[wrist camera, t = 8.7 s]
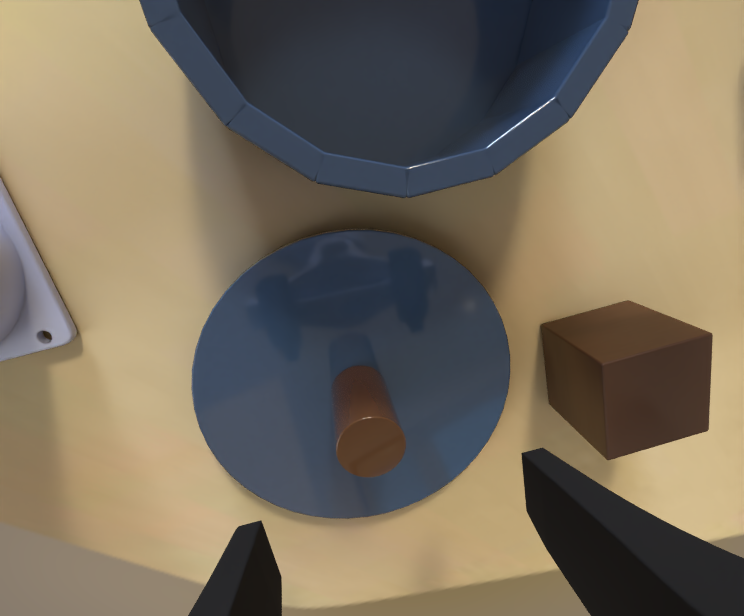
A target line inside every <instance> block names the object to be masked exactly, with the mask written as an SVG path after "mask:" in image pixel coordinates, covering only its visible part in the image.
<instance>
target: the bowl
mask: <svg viewBox="0 0 744 616" xmlns="http://www.w3.org/2000/svg"><path fill="white" fill-rule="evenodd" d="M139 1H140V4H141V7H142V10H143V12H144V15H145V18H146V21H147V24H148V26H149V28H150V30H151V32H152V33H153V34H154V36H155V37H156V38H157V39H158V41H159V42H160V43H161V45H162V46H163V47H164V48H165V50H166V51H167V52H168V54H169V55H170V56H171V57H172V59H173V60H174V61H175V63H176V64H177V65H178V67H179V68H180V69H181V70H182V72H183V73H184V74H185V76H186V77H187V78H188V79H189V81H190V82H191V83H192V85H193V86H194V87H195V88H196V90H197V91H198V92H199V94H200V95H201V96H202V97H203V99H204V100H205V101H206V103H207V104H208V105H209V107H210V108H211V109H212V110H213V112H214V113H215V114H216V116H217V117H218V118H219V119H220V121H221V122H222V123H223V125H225V126H226V127H228V128H229V130H231V131H233V132H234V133H236V134H237V135H239V136H241V137H242V138H244V139H245V140H247V141H249V142H250V143H252V144H253V145H255V146H257V147H258V148H260V149H261V150H263V151H265V152H266V153H268V154H269V155H271V156H273V157H274V158H276V159H277V160H279V161H281V162H282V163H284V164H285V165H287V166H289V167H290V168H292V169H293V170H295V171H296V172H298V173H300V174H301V175H303V176H304V177H306V178H308V179H309V180H311V181H314V182H315V181H316V183H318V184H324V185H330V186H335V187H341V188H347V189H353V190H359V191H365V192H371V193H377V194H383V195H389V196H395V197H401V198H406V197H408V198H411V197H415V196H419V195H423V194H427V193H431V192H435V191H439V190H443V189H447V188H451V187H455V186H459V185H463V184H467V183H471V182H474V181H478V180H482V179H486V178H490V177H493V176H494V175H497V174H498V173H499V172H501V171H502V170H504V169H505V168H506V167H508V166H509V165H510V164H512V163H513V162H514V161H516V160H517V159H518V158H520V157H521V156H522V155H524V154H525V153H527V152H528V151H529V150H531V149H532V148H533V147H535V146H536V145H537V144H539V143H540V142H541V141H543V140H544V139H545V138H547V137H548V136H550V135H551V134H552V133H554V132H555V131H556V130H558V129H559V128H560V127H562V126H563V125H564V124H566V123H567V122H568V121H569V119H570V118H572V117H573V115H574V114H575V112H576V111H577V109H578V108H579V106H580V105H581V103H582V102H583V100H584V99H585V97H586V96H587V94H588V93H589V91H590V90H591V88H592V87H593V85H594V84H595V82H596V81H597V79H598V78H599V76H600V75H601V73H602V72H603V70H604V69H605V67H606V66H607V64H608V63H609V61H610V60H611V58H612V57H613V55H614V54H615V52H616V51H617V49H618V48H619V46H620V45H621V43H622V42H623V40H624V39H625V37H626V36H627V34H628V31H629V29H630V28H631V25H632V21H633V18H634V14H635V11H636V8H637V4H638V1H639V0H139Z"/></svg>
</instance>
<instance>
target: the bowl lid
mask: <svg viewBox="0 0 744 616" xmlns="http://www.w3.org/2000/svg"><path fill="white" fill-rule="evenodd" d="M509 379H510V352H509V346H508V339H507V335H506V331H505V328H504V325H503V322H502V319H501V317H500V314H499V312H498V310H497V308H496V306H495V304H494V302H493V300H492V299H491V297H490V296H489V294H488V293H487V291H486V290H485V288H484V287H483V286H482V285H481V283H480V282H479V281H478V280H477V279H476V278H475V277H474V276H473V275H472V273H471V272H470V271H469V270H467V269H466V268H465V267H464V266H462V265H461V264H460V263H459V262H458V261H456V260H455V259H454V258H452V257H451V256H449V255H447V254H446V253H444V252H443V251H441V250H439V249H438V248H436V247H434V246H432V245H430V244H428V243H425V242H423V241H421V240H418V239H416V238H414V237H410V236H407V235H403V234H399V233H396V232H392V231H384V230H377V229H341V230H334V231H326V232H322V233H318V234H314V235H311V236H307V237H303V238H301V239H298V240H296V241H293V242H291V243H289V244H286V245H284V246H282V247H280V248H278V249H276V250H274V251H273V252H271V253H269V254H268V255H266V256H264V257H263V258H261V259H260V260H258V261H257V262H256V263H255V264H253V265H252V266H251V267H249V268H248V269H247V270H246V271H244V272H243V273H242V274H241V275H240V276H239V277H238V278H237V279H236V280H235V281H234V282H233V283H232V285H231V286H230V287H229V288H228V289H227V290H226V291H225V293H224V294H223V296H222V297H221V298H220V300H219V301H218V302H217V304H216V305H215V307H214V308H213V310H212V311H211V313H210V315H209V317H208V319H207V321H206V323H205V325H204V327H203V329H202V332H201V335H200V338H199V341H198V343H197V346H196V350H195V356H194V361H193V367H192V396H193V404H194V410H195V413H196V417H197V420H198V424H199V427H200V429H201V432H202V434H203V436H204V438H205V440H206V442H207V445H208V446H209V448H210V449H211V451H212V452H213V454H214V455H215V457H216V459H217V460H218V461H219V462H220V464H221V465H222V466H223V467H224V468H225V469H226V471H227V472H228V473H229V474H230V475H231V476H232V477H233V478H235V479H236V480H237V481H238V482H239V483H240V484H241V485H243V486H244V487H245V488H247V489H248V490H250V491H251V492H253V493H254V494H256V495H257V496H259V497H260V498H262V499H264V500H266V501H268V502H270V503H272V504H274V505H276V506H279V507H282V508H284V509H287V510H290V511H293V512H297V513H301V514H305V515H309V516H315V517H324V518H346V519H349V518H360V517H369V516H374V515H379V514H384V513H388V512H391V511H394V510H398V509H401V508H404V507H406V506H409V505H411V504H413V503H416V502H418V501H420V500H422V499H424V498H426V497H427V496H429V495H431V494H433V493H435V492H436V491H438V490H439V489H441V488H442V487H444V486H445V485H446V484H448V483H449V482H451V481H452V480H453V479H454V478H455V477H457V476H458V475H459V474H460V473H461V472H462V471H463V470H465V469H466V467H467V466H468V465H469V464H470V463H471V462H472V461H473V460H474V459H475V458H476V457H477V455H478V454H479V453H480V451H481V450H482V448H483V447H484V446H485V444H486V443H487V442H488V440H489V438H490V436H491V435H492V433H493V431H494V429H495V427H496V426H497V423H498V421H499V418H500V416H501V413H502V411H503V408H504V404H505V401H506V397H507V393H508V387H509Z"/></svg>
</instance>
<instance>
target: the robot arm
mask: <svg viewBox="0 0 744 616" xmlns="http://www.w3.org/2000/svg"><path fill="white" fill-rule="evenodd" d="M43 331H47V332H49V333H50V334H51V335H52V340H50V339H47V338H46V337H45V336H44V335H43ZM76 334H77V330H76V327H75V325H74V323H73V321H72V319H71V317H70V315H69V313H68V311H67V309H66V307H65V305H64V303H63V301H62V299H61V297H60V295H59V293H58V291H57V289H56V287H55V285H54V283H53V281H52V279H51V277H50V275H49V273H48V271H47V269H46V267H45V265H44V263H43V261H42V259H41V257H40V255H39V253H38V251H37V249H36V247H35V245H34V243H33V241H32V239H31V237H30V235H29V233H28V231H27V229H26V227H25V225H24V223H23V221H22V219H21V217H20V215H19V213H18V211H17V209H16V207H15V205H14V203H13V201H12V199H11V197H10V195H9V193H8V191H7V189H6V187H5V186H4V184H3V182H2V180H1V178H0V361H4V360H8V359H12V358H16V357H20V356H24V355H27V354H31V353H35V352H39V351H43V350H47V349H51V348H54V347H58V346H62V345H65V344H67V343H69V342H71V341H72V340H73V339H74V338H75V337H76ZM522 463H523V475H524V486H525V498H526V509H527V513H528V515H529V517H530V519H531V520H532V522H533V524H534V526H535V528H536V530H537V532H538V534H539V536H540V538H541V540H542V542H543V543H544V545H545V547H546V549H547V550H548V552H549V553H550V555H551V557H552V558H553V560H554V561H555V563H556V564H557V566H558V567H559V569H560V570H561V571H562V573H563V575H564V576H565V578H566V579H567V581H568V582H569V584H570V585H571V587H572V588H573V589H574V591H575V593H576V594H577V596H578V597H579V598H580V600H581V602H582V603H583V605H584V606H585V608H586V609H587V610H588V612H589V613H590V615H591V616H744V558H742V557H739V556H737V555H735V554H732V553H730V552H728V551H725V550H723V549H721V548H719V547H716V546H714V545H712V544H710V543H708V542H706V541H704V540H702V539H699V538H697V537H695V536H693V535H691V534H689V533H687V532H685V531H683V530H681V529H679V528H677V527H675V526H673V525H671V524H669V523H667V522H665V521H663V520H661V519H659V518H657V517H656V516H654V515H652V514H650V513H648V512H646V511H645V510H643V509H641V508H639V507H637V506H635V505H634V504H632V503H630V502H628V501H627V500H625V499H623V498H622V497H620V496H618V495H617V494H615V493H613V492H612V491H610V490H608V489H607V488H605V487H603V486H602V485H600V484H598V483H597V482H595V481H594V480H592V479H590V478H589V477H587V476H586V475H584V474H583V473H581V472H580V471H578V470H576V469H575V468H573V467H572V466H570V465H569V464H567V463H566V462H564V461H563V460H561V459H559V458H558V457H556V456H555V455H553V454H552V453H550V452H549V451H547V450H545V449H544V448H540V449H536V450H532V451H528V452H524V453H522ZM281 613H282V583H281V574H280V572H279V569H278V566H277V563H276V560H275V558H274V555H273V552H272V549H271V546H270V544H269V541H268V538H267V535H266V532H265V529H264V527H263V524H262V521H257V522H254V523H250V524H246V525H242V526H238V528H237V529H236V531H235V532H234V534H233V536H232V538H231V540H230V542H229V544H228V545H227V547H226V549H225V551H224V553H223V555H222V557H221V559H220V560H219V562H218V564H217V566H216V568H215V570H214V571H213V573H212V575H211V577H210V579H209V581H208V582H207V584H206V586H205V587H204V589H203V591H202V593H201V594H200V596H199V598H198V600H197V602H196V603H195V605H194V607H193V608H192V610H191V612H190V613H189V615H188V616H282V614H281Z"/></svg>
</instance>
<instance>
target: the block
mask: <svg viewBox="0 0 744 616" xmlns="http://www.w3.org/2000/svg"><path fill="white" fill-rule="evenodd" d="M541 331H542V340H543V350H544V359H545V369H546V379H547V388H548V398H549V404H550V405H551V406H552V407H553V408H554V409H555V410H556V411H557V412H558V413H559V414H560V415H561V416H562V417H563V418H564V419H565V420H566V421H567V422H568V423H569V424H570V425H571V426H573V427H574V428H575V429H576V430H577V431H578V432H579V433H580V434H581V435H582V436H583V437H584V438H585V439H586V440H587V441H588V442H589V443H590V444H591V445H592V446H593V447H594V448H595V449H596V450H597V451H598V452H599V453H600V454H602V455H603V456H604V457H605V458H606V459H607V460H611V459H615V458H618V457H621V456H625V455H628V454H631V453H635V452H638V451H641V450H645V449H648V448H652V447H655V446H658V445H662V444H665V443H668V442H672V441H675V440H679V439H682V438H685V437H689V436H692V435H695V434H699V433H702V432H706V431H708V429H709V407H710V384H711V360H712V337H713V335H712V333H710V332H708V331H705V330H702V329H700V328H697V327H695V326H692V325H690V324H687V323H685V322H682V321H680V320H677V319H675V318H672V317H670V316H667V315H664V314H662V313H659V312H657V311H654V310H652V309H649V308H647V307H644V306H642V305H639V304H637V303H634V302H632V301H624V302H621V303H617V304H613V305H610V306H606V307H602V308H599V309H595V310H591V311H588V312H584V313H580V314H577V315H573V316H569V317H566V318H562V319H559V320H555V321H551V322H548V323H544V324H541Z"/></svg>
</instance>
